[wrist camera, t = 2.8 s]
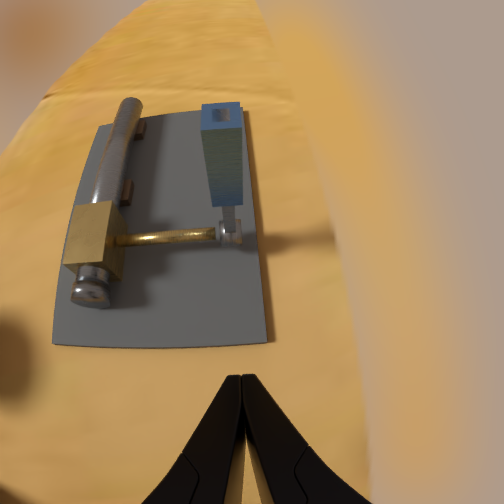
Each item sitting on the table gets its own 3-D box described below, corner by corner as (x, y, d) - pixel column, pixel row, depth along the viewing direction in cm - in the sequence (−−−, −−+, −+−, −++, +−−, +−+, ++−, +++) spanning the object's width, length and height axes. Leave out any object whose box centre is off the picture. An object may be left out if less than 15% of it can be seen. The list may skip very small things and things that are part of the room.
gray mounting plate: (266, 343, 21) (267, 341, 21) (55, 344, 20) (51, 343, 20) (242, 111, 33) (242, 107, 32) (100, 129, 32) (99, 126, 31)
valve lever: (243, 250, 23) (242, 127, 12) (220, 251, 23) (200, 130, 12) (242, 227, 24) (239, 101, 13) (219, 228, 24) (201, 104, 13)
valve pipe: (220, 305, 22) (215, 288, 18) (83, 310, 21) (57, 294, 18) (215, 108, 32) (212, 81, 28) (121, 121, 31) (112, 96, 28)
